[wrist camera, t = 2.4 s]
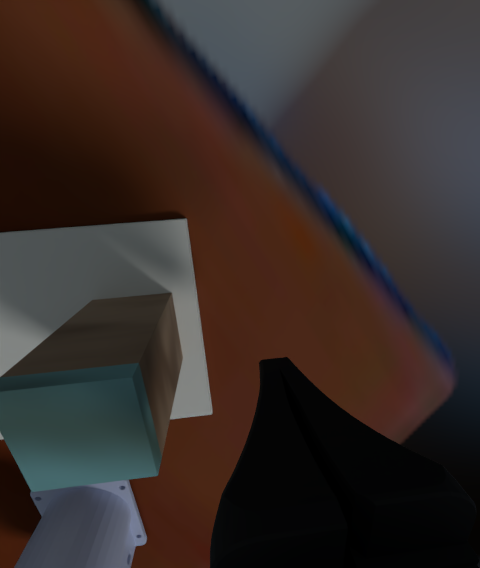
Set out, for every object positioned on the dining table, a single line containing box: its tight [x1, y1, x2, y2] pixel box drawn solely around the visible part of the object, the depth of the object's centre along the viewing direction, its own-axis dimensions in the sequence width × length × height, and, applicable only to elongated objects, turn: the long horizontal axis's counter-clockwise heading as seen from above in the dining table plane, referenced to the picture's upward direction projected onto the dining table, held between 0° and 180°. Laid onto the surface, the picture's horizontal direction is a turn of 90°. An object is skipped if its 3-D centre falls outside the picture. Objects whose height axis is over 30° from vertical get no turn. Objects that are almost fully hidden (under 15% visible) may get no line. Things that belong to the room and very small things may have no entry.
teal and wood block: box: [0, 293, 183, 492], centre depth 13 cm, size 5×5×8 cm
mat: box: [0, 218, 212, 439], centre depth 17 cm, size 15×18×1 cm
